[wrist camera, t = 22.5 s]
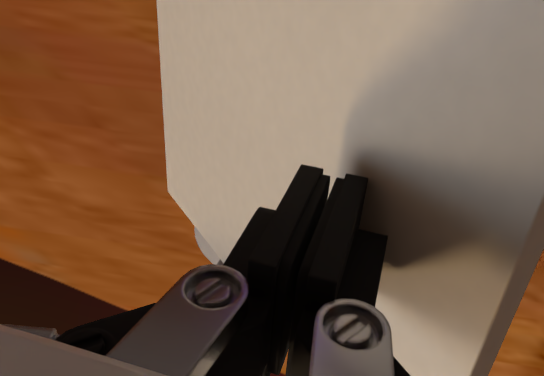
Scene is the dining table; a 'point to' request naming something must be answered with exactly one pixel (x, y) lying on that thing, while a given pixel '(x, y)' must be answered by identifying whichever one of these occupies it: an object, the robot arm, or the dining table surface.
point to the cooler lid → (374, 144)
